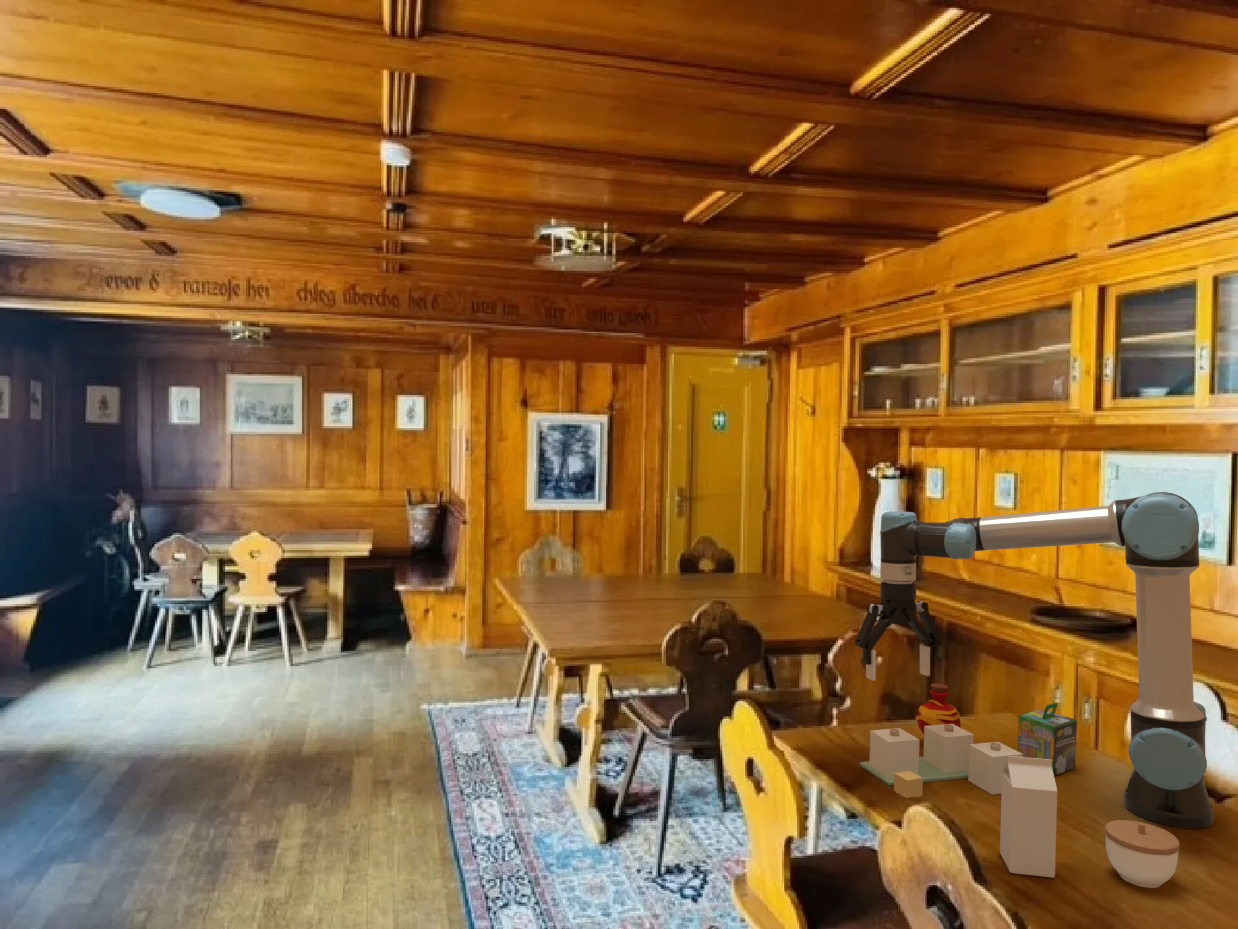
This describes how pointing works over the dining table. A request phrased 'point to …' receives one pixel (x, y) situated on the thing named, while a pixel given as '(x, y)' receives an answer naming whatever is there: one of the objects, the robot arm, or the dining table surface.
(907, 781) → the tan cube
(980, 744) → the cloche right
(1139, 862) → the lidded jar
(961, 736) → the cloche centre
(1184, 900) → the dining table surface
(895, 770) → the cloche left
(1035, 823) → the milk carton
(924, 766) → the felt mat
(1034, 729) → the chalk box
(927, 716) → the potion bottle
